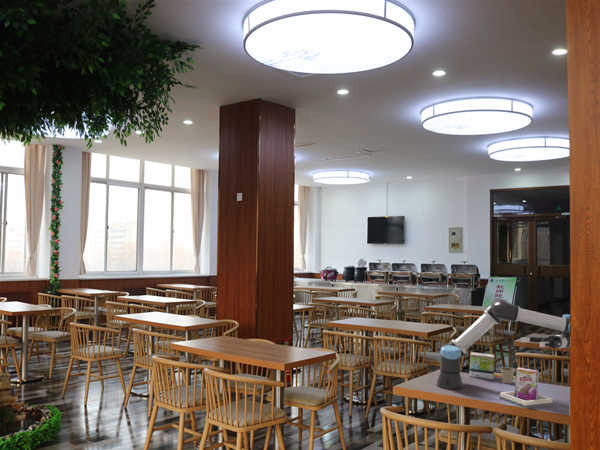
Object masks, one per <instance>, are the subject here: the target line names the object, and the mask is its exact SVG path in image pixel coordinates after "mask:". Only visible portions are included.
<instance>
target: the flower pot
mask: <svg viewBox="0 0 600 450" xmlns="http://www.w3.org/2000/svg"><path fill="white" fill-rule="evenodd" d="M499 370H500V375H501V382H502V383H504V384H510V385H512V384H513V381H514V375H515V373H516V369H515V368H513V367H508V366H507V367H506V366H505V367H504V366H503V367H499Z"/></svg>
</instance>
